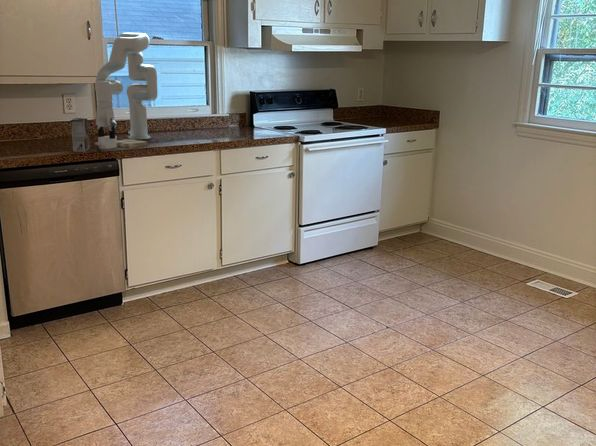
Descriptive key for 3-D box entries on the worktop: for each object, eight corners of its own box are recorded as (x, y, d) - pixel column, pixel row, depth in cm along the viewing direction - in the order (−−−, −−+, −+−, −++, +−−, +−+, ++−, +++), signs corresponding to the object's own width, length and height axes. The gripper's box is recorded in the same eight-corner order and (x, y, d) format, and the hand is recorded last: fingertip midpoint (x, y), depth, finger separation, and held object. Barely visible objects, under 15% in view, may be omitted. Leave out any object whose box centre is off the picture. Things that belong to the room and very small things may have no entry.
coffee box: (77, 148, 317) (75, 117, 312) (90, 149, 317) (87, 118, 313) (72, 151, 308) (70, 119, 304) (85, 151, 308) (83, 120, 304)
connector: (93, 149, 317) (92, 137, 316) (113, 146, 327) (113, 135, 325) (98, 150, 315) (98, 138, 313) (118, 147, 324) (118, 136, 323)
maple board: (111, 144, 332) (111, 141, 332) (129, 142, 341) (129, 138, 341) (129, 147, 323) (129, 144, 322) (147, 145, 332) (147, 141, 332)
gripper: (89, 104, 317) (91, 136, 322) (108, 106, 307) (110, 139, 311) (101, 103, 323) (103, 135, 327) (121, 105, 313) (122, 138, 317)
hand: (106, 137), depth 319 cm, fingers open, 9 cm apart
